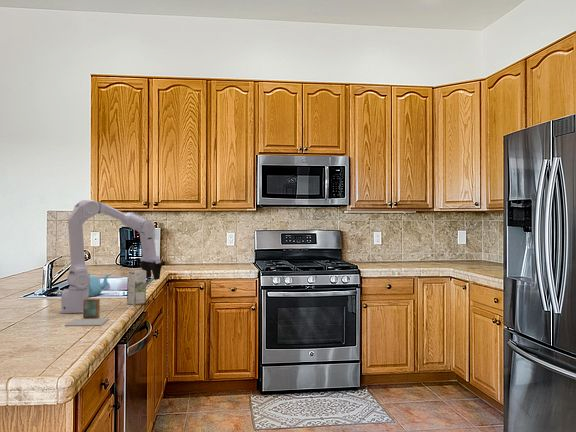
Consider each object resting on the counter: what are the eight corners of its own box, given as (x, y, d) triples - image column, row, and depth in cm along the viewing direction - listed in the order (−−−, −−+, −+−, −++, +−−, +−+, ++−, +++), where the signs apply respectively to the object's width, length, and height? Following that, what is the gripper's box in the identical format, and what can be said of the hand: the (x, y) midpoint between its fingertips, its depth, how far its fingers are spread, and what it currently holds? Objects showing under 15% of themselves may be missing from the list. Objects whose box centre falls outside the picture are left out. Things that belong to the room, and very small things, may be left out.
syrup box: (138, 302, 209) (138, 268, 209) (146, 303, 205) (146, 270, 205) (126, 303, 204) (127, 270, 204) (134, 305, 201) (134, 271, 201)
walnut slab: (83, 319, 173) (83, 300, 173) (85, 317, 175) (85, 298, 175) (97, 319, 173) (97, 299, 173) (99, 317, 176) (99, 298, 176)
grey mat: (64, 326, 162) (64, 325, 162) (74, 319, 171) (74, 318, 171) (101, 325, 163) (101, 324, 163) (109, 319, 173) (109, 318, 173)
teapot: (63, 296, 222) (63, 274, 222) (87, 291, 236) (88, 271, 236) (87, 298, 216) (87, 276, 216) (111, 293, 230) (111, 272, 230)
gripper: (165, 246, 203) (169, 277, 204) (149, 245, 213) (153, 275, 215) (150, 250, 198) (154, 281, 199) (134, 248, 209) (138, 278, 210)
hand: (152, 278), depth 207 cm, fingers open, 7 cm apart
